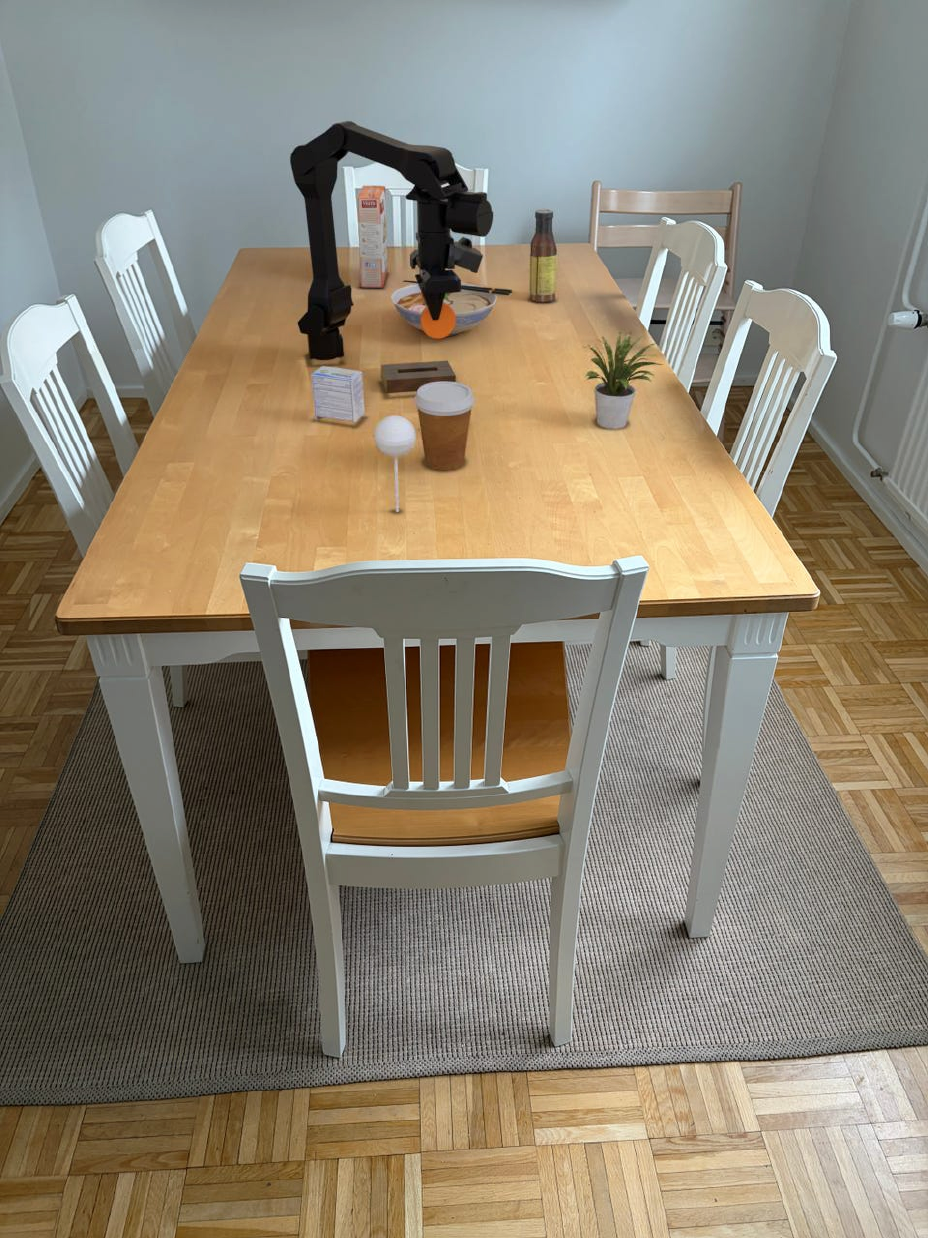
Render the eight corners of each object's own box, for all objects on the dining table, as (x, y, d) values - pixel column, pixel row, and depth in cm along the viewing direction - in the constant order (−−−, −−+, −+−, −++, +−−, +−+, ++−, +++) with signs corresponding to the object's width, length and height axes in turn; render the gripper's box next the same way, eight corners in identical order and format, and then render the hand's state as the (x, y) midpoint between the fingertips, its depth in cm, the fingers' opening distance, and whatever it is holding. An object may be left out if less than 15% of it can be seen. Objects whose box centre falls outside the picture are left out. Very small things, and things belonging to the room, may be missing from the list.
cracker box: (384, 288, 232) (381, 196, 220) (359, 288, 232) (355, 196, 220) (389, 272, 243) (386, 184, 231) (365, 272, 243) (361, 184, 231)
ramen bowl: (369, 339, 203) (367, 300, 198) (413, 308, 220) (413, 272, 215) (478, 355, 195) (479, 316, 190) (515, 322, 212) (517, 285, 208)
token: (418, 336, 175) (424, 300, 171) (417, 334, 176) (423, 298, 172) (452, 340, 177) (458, 305, 173) (451, 338, 178) (457, 303, 174)
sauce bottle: (559, 298, 227) (565, 209, 216) (547, 305, 223) (552, 215, 211) (535, 293, 230) (540, 206, 218) (523, 300, 226) (526, 211, 214)
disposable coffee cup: (453, 480, 150) (453, 408, 143) (403, 465, 154) (401, 394, 147) (484, 458, 156) (486, 388, 150) (436, 444, 161) (435, 375, 154)
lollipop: (377, 501, 144) (373, 408, 135) (416, 500, 144) (414, 407, 136) (377, 522, 139) (373, 426, 130) (418, 520, 139) (416, 425, 131)
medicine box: (365, 417, 169) (363, 370, 164) (355, 427, 166) (352, 379, 161) (325, 411, 171) (321, 364, 166) (314, 420, 168) (310, 373, 163)
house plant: (595, 448, 160) (605, 353, 151) (552, 417, 170) (558, 327, 160) (664, 432, 165) (677, 340, 156) (618, 404, 175) (628, 315, 166)
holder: (387, 398, 177) (386, 380, 175) (381, 382, 183) (380, 364, 181) (455, 393, 179) (455, 375, 177) (447, 377, 185) (447, 360, 183)
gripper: (490, 240, 159) (488, 332, 168) (468, 214, 174) (467, 300, 183) (425, 243, 157) (426, 336, 166) (408, 217, 172) (410, 304, 181)
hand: (434, 318), depth 174 cm, fingers closed on token, 1 cm apart
